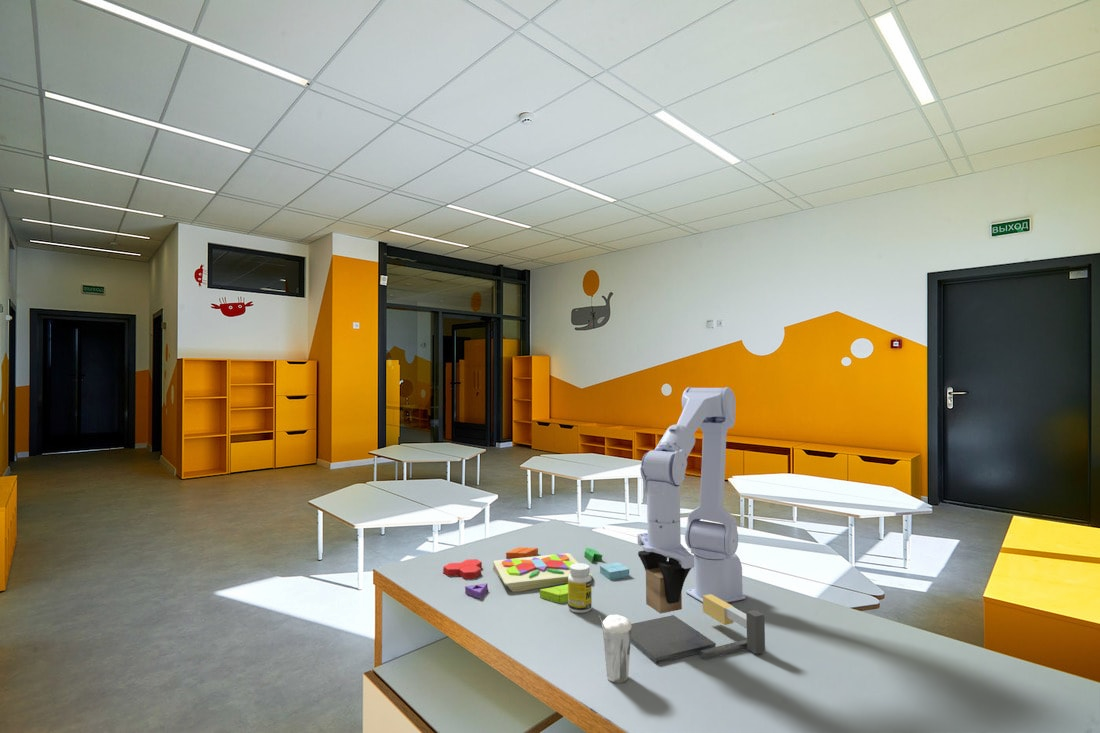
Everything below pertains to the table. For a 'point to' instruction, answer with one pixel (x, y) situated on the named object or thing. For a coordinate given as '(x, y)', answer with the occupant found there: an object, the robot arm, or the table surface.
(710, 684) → the table surface
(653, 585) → the brown rectangular block
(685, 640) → the press base
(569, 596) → the supplement bottle
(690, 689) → the table surface
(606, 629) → the milkshake
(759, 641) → the lever with yellow grip
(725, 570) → the robot arm
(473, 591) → the pattern blocks set
